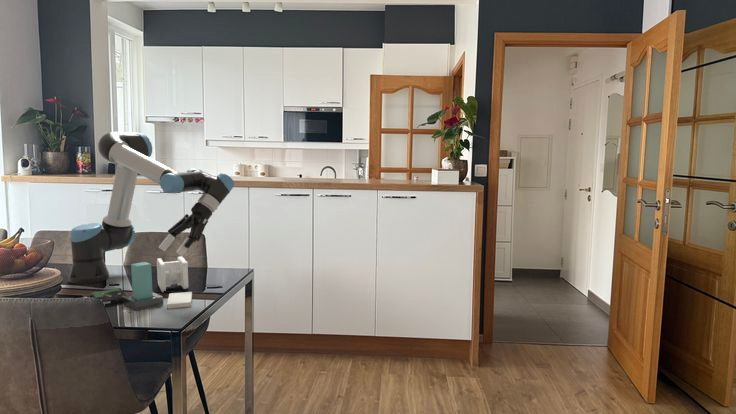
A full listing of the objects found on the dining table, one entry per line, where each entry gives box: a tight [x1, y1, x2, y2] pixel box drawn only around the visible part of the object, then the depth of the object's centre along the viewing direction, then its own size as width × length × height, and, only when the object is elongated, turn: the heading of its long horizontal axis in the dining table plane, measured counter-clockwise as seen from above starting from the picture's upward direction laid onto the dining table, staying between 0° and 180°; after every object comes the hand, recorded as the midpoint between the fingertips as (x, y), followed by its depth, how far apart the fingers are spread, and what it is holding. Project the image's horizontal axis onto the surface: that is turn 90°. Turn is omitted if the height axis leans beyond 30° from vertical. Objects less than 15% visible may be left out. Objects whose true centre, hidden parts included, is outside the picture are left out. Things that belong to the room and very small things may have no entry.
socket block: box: [122, 292, 164, 312], centre depth 187 cm, size 10×10×3 cm
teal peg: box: [130, 261, 154, 300], centre depth 187 cm, size 5×5×15 cm
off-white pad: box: [166, 291, 193, 309], centre depth 191 cm, size 14×8×2 cm, turn 17°
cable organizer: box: [156, 255, 189, 293], centre depth 209 cm, size 15×11×12 cm
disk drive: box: [91, 287, 127, 307], centre depth 193 cm, size 10×3×15 cm
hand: (169, 251), depth 193 cm, fingers open, 13 cm apart
